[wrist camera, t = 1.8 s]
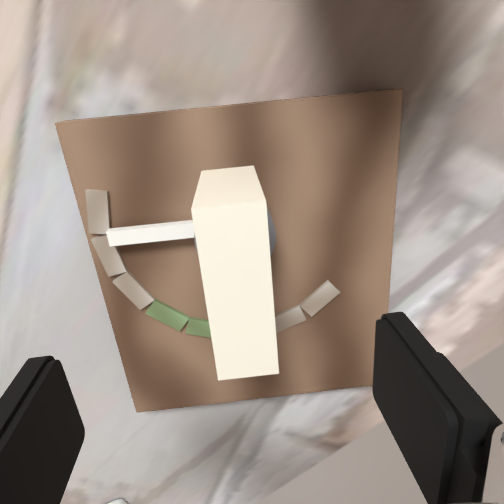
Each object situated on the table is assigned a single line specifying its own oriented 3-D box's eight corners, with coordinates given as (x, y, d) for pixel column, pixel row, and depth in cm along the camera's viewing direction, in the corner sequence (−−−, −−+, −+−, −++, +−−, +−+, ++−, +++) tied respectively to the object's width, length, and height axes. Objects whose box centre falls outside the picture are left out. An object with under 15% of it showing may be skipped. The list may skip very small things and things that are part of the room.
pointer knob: (266, 154, 22) (292, 198, 13) (274, 273, 25) (299, 371, 16) (95, 171, 21) (11, 227, 13) (125, 289, 24) (73, 397, 16)
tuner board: (392, 89, 22) (405, 89, 21) (376, 370, 31) (384, 386, 29) (65, 120, 22) (52, 123, 20) (140, 397, 30) (135, 415, 29)
